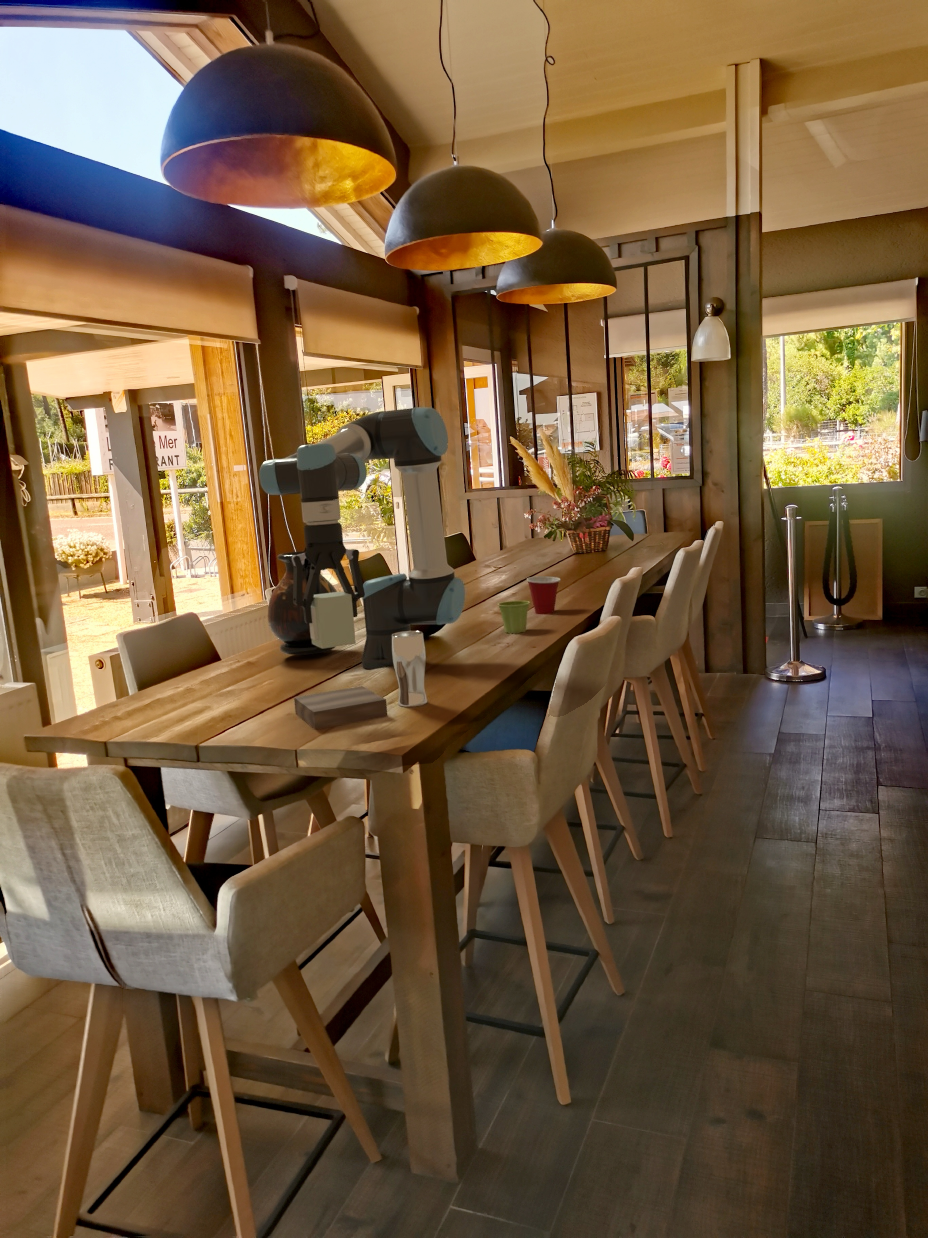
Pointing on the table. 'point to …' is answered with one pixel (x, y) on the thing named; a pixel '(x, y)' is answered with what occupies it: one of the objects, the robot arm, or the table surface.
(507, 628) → the plant pot
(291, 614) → the amphora vase
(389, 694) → the table surface
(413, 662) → the beer glass
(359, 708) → the walnut block
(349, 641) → the sage block
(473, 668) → the table surface
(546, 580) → the plastic cup
